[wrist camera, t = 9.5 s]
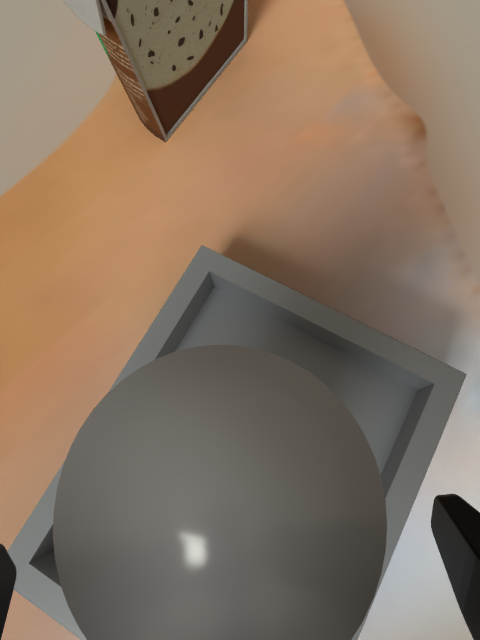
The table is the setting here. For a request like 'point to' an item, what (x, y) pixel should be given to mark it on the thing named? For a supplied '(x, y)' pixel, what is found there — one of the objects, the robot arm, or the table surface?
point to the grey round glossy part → (220, 505)
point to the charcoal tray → (307, 352)
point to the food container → (166, 50)
